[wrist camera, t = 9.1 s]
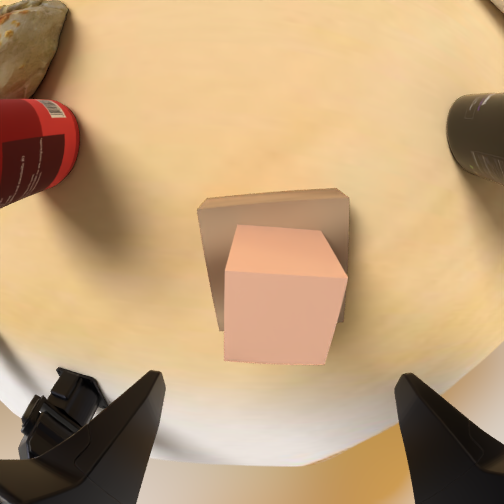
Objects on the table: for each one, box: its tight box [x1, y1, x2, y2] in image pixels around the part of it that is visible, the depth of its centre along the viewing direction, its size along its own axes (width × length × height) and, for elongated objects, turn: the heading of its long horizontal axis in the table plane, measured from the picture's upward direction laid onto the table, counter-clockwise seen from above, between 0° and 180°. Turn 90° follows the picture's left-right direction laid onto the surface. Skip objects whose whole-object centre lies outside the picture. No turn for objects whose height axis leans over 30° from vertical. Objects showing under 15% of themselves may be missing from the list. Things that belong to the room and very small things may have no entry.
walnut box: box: [197, 188, 349, 331], centre depth 19 cm, size 9×9×4 cm
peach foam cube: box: [224, 224, 348, 365], centre depth 15 cm, size 5×5×6 cm
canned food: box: [0, 99, 80, 208], centre depth 12 cm, size 8×8×11 cm
